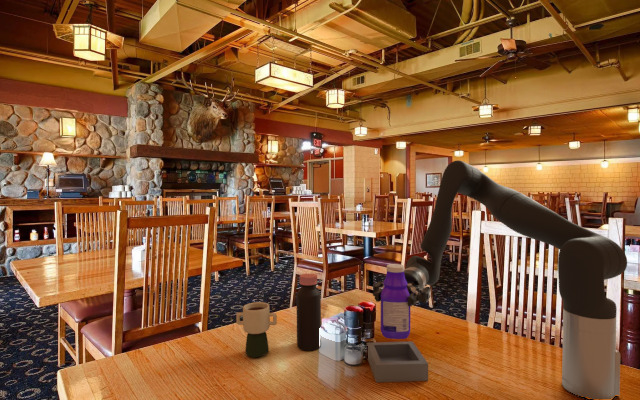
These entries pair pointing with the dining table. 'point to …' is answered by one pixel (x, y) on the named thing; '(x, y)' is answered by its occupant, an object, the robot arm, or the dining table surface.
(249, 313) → the character mug
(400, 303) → the bottle
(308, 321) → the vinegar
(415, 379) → the grey square tray
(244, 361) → the dining table surface
